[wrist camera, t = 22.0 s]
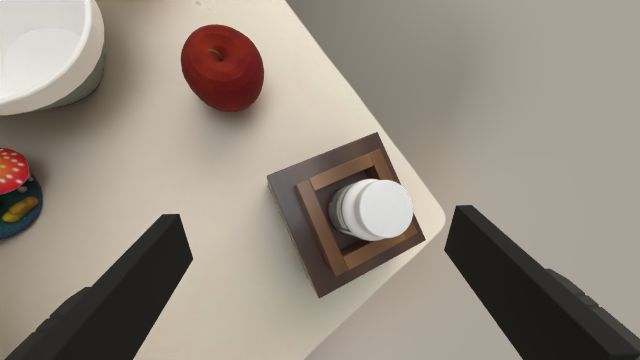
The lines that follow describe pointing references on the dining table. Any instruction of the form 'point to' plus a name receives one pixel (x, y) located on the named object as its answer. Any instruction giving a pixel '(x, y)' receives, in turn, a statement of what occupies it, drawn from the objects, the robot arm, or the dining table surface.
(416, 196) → the dining table surface
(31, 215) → the figurine
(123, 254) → the robot arm
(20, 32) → the bowl
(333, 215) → the pill bottle
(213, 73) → the apple
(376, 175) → the socket stand
